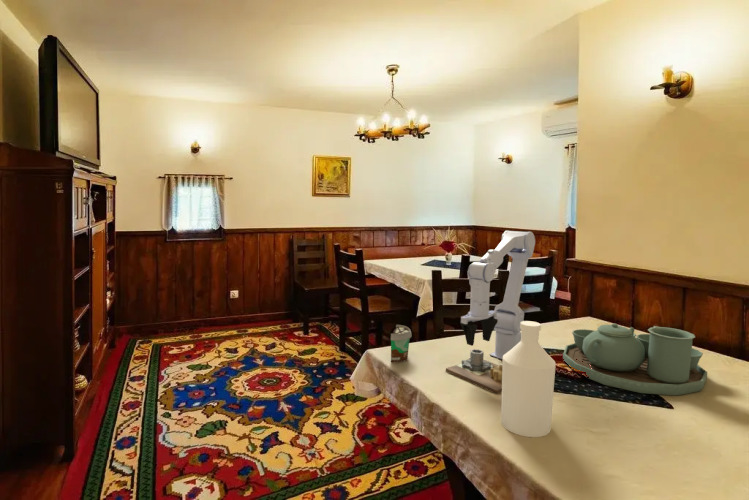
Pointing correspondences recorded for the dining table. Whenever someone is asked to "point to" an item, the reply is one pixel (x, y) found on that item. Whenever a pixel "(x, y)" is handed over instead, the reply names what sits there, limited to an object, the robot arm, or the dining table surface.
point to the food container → (400, 343)
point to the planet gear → (476, 361)
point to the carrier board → (481, 376)
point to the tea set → (638, 359)
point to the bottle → (527, 385)
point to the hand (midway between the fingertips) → (478, 342)
